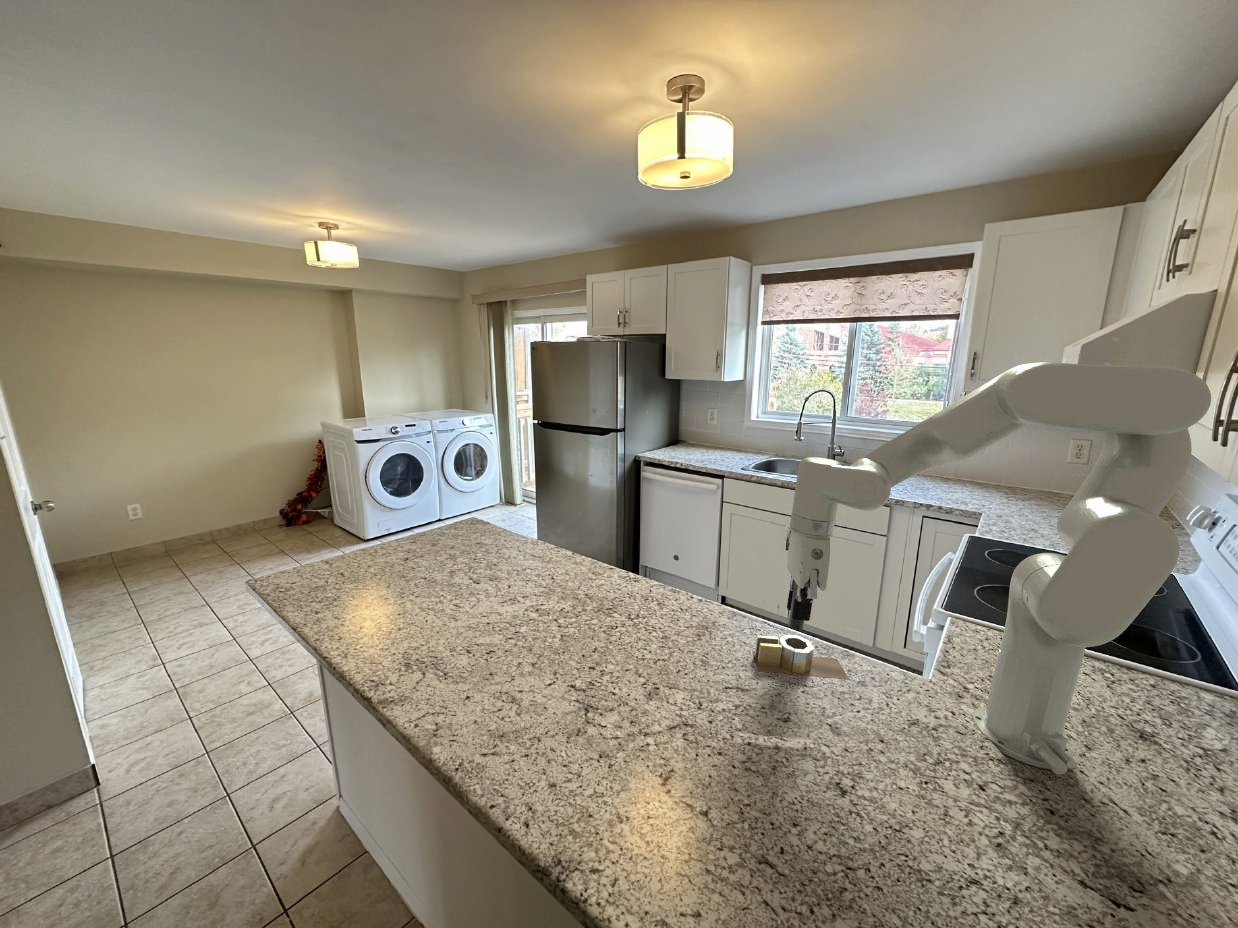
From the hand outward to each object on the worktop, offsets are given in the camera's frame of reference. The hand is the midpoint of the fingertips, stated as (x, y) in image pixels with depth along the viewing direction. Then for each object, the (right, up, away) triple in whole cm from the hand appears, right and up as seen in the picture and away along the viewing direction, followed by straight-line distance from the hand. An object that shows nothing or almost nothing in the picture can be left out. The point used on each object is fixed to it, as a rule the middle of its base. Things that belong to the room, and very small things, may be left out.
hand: (797, 613), depth 92 cm
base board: (+1, -11, +2) cm, 12 cm away
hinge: (-2, -10, +2) cm, 11 cm away
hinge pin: (0, -3, +1) cm, 3 cm away
